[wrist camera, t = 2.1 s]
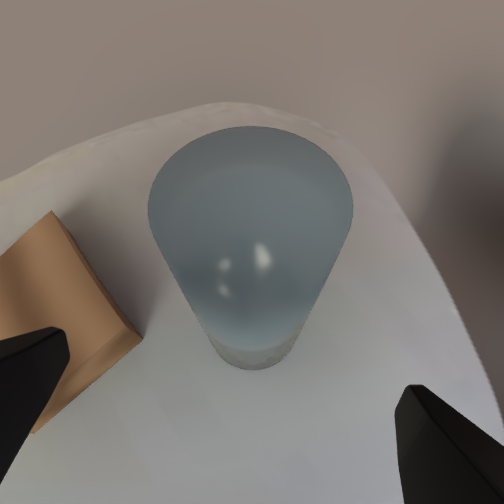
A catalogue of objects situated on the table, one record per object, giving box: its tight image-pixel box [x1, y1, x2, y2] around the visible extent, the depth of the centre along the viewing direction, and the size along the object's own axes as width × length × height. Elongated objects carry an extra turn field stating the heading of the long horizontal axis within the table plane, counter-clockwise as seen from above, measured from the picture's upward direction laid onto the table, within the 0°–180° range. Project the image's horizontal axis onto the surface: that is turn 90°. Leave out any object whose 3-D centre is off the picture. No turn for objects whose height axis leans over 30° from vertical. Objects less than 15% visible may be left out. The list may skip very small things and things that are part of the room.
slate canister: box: [148, 126, 353, 370], centre depth 13 cm, size 5×5×12 cm
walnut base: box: [0, 210, 143, 433], centre depth 17 cm, size 11×11×3 cm
